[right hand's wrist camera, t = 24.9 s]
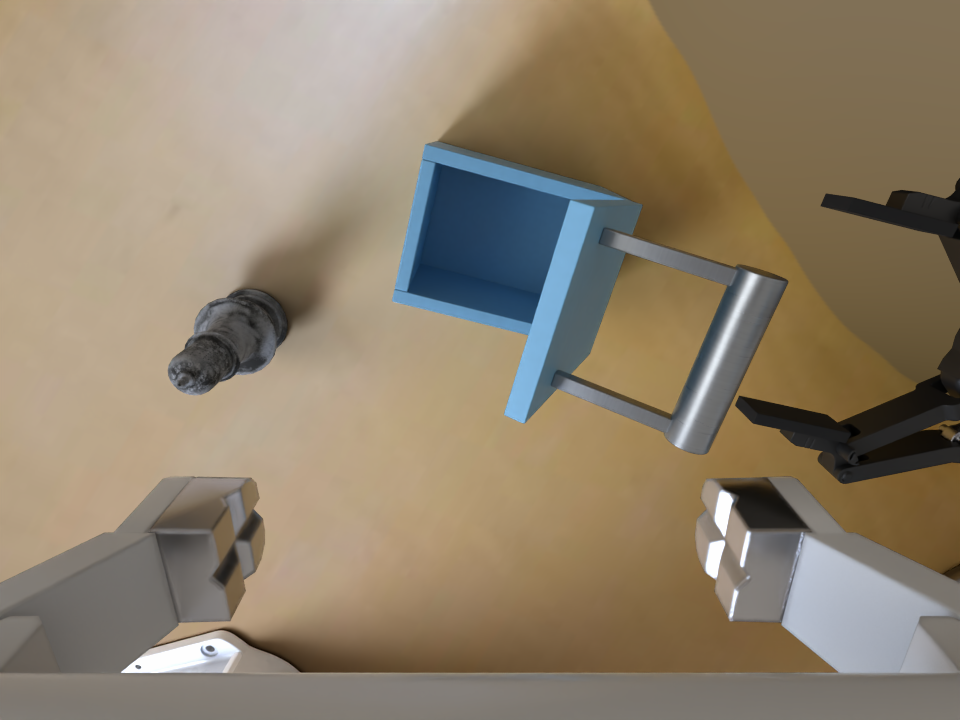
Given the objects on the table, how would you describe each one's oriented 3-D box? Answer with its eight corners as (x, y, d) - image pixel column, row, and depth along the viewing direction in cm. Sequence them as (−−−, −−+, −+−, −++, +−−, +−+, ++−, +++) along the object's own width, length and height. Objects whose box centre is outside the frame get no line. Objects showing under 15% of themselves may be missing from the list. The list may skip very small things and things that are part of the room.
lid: (503, 415, 25) (697, 500, 22) (569, 198, 21) (807, 271, 19) (574, 348, 36) (709, 400, 33) (625, 199, 32) (780, 245, 30)
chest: (408, 268, 43) (391, 301, 35) (436, 140, 40) (425, 143, 32) (562, 307, 44) (580, 348, 36) (601, 186, 41) (632, 200, 33)
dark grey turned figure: (230, 271, 43) (143, 320, 32) (303, 307, 44) (243, 367, 33) (204, 336, 45) (114, 404, 34) (275, 369, 46) (209, 445, 35)
